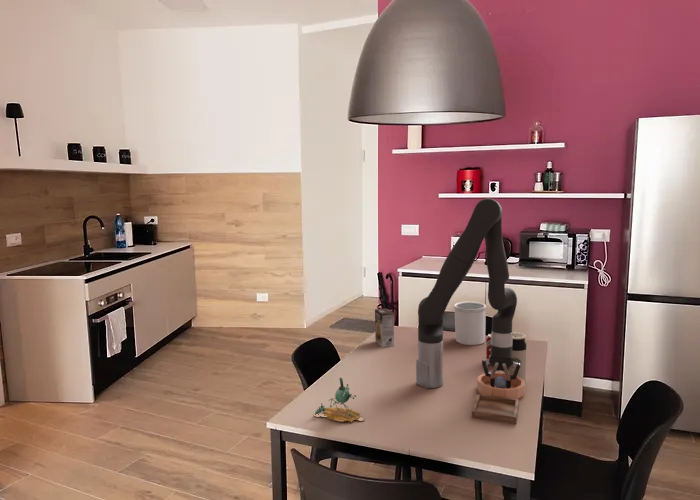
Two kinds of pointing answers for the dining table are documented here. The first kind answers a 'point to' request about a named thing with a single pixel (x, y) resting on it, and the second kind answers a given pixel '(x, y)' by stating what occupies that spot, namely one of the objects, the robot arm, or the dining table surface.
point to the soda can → (488, 347)
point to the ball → (500, 382)
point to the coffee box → (384, 327)
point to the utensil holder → (470, 322)
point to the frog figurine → (339, 413)
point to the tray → (495, 408)
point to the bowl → (513, 392)
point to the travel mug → (519, 354)
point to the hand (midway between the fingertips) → (500, 388)
